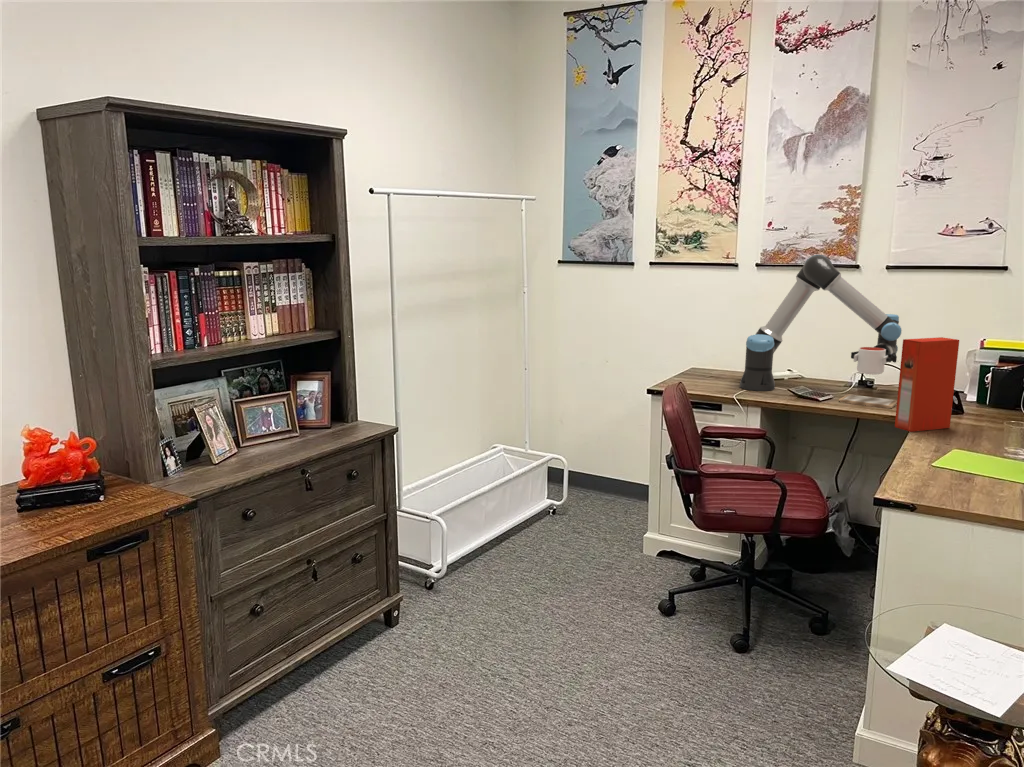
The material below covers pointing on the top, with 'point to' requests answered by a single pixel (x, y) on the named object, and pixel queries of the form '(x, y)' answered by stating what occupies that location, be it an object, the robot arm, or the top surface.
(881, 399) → the writing board
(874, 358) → the cup
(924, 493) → the top surface
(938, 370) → the file binder
